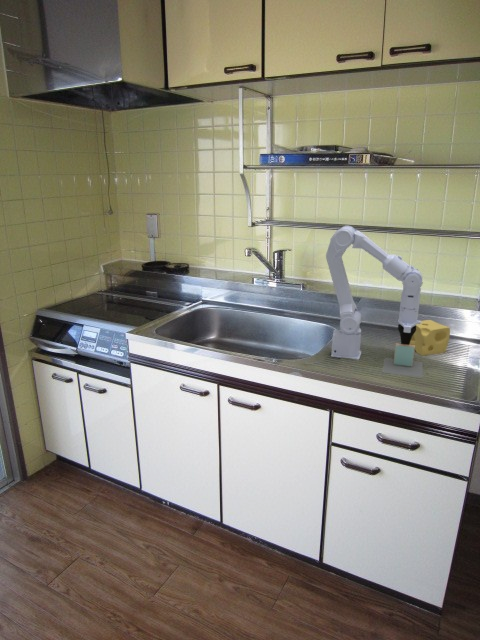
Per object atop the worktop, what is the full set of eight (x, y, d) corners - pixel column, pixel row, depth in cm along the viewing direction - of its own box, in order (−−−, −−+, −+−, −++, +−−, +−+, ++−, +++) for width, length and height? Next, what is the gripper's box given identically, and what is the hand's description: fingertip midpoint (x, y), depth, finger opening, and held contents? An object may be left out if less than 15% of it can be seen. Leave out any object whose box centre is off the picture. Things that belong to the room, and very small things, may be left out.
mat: (381, 374, 144) (382, 372, 144) (384, 359, 156) (384, 357, 156) (422, 379, 140) (422, 377, 140) (422, 364, 152) (422, 362, 152)
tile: (393, 364, 150) (395, 344, 148) (393, 363, 151) (395, 343, 149) (412, 367, 148) (415, 346, 146) (412, 365, 149) (415, 345, 147)
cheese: (421, 357, 158) (425, 330, 155) (403, 346, 168) (406, 320, 164) (447, 354, 160) (451, 327, 157) (427, 344, 170) (431, 318, 167)
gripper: (423, 314, 140) (417, 355, 144) (422, 302, 153) (417, 340, 157) (398, 312, 142) (394, 353, 146) (400, 300, 155) (396, 338, 159)
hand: (404, 346), depth 152 cm, fingers closed
